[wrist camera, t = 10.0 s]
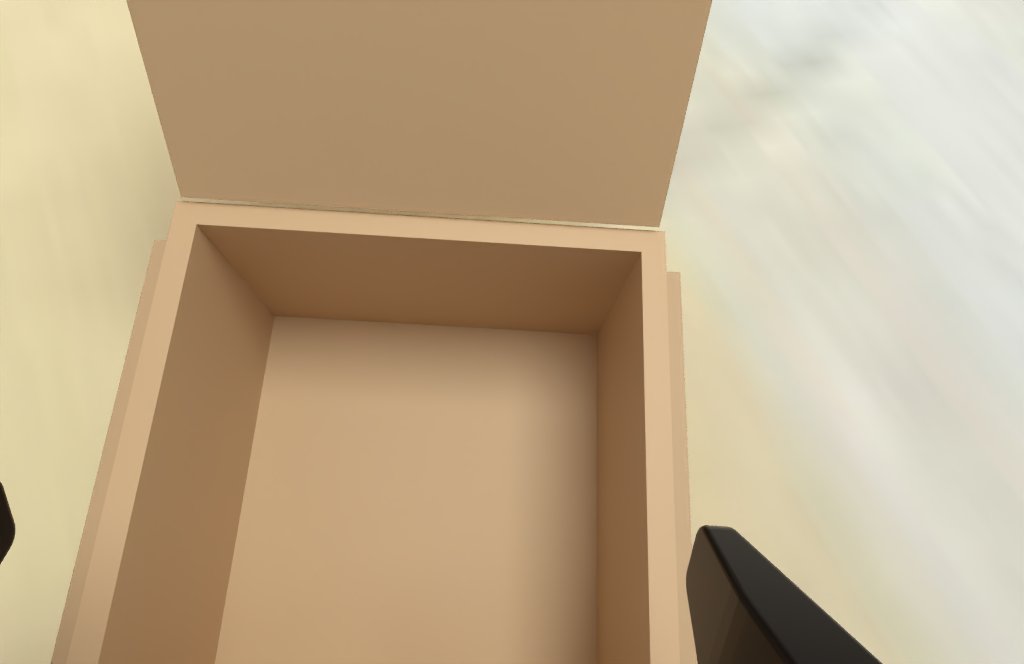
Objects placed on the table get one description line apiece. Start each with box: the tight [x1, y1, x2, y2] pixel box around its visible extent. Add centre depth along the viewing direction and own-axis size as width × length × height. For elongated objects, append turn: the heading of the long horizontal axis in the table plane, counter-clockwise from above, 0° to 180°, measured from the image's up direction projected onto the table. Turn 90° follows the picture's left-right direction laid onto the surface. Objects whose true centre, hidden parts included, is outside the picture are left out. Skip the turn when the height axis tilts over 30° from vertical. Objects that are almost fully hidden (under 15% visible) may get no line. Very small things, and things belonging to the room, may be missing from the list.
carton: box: [51, 201, 697, 664], centre depth 18 cm, size 12×13×7 cm
